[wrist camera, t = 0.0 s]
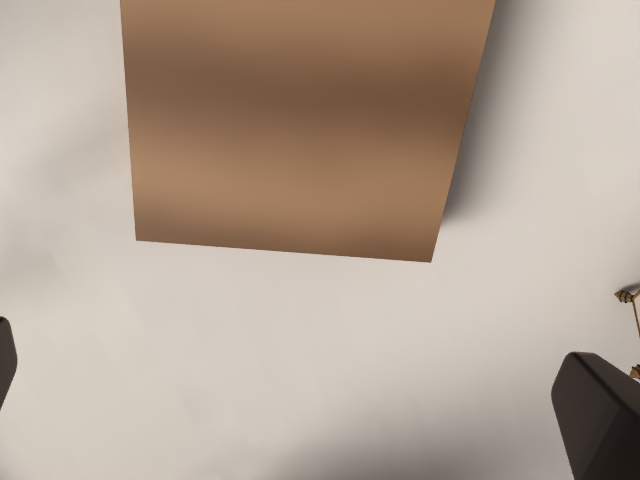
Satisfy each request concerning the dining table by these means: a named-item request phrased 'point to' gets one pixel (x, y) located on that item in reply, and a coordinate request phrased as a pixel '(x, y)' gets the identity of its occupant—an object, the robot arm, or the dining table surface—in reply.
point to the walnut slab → (298, 120)
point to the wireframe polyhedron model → (636, 372)
